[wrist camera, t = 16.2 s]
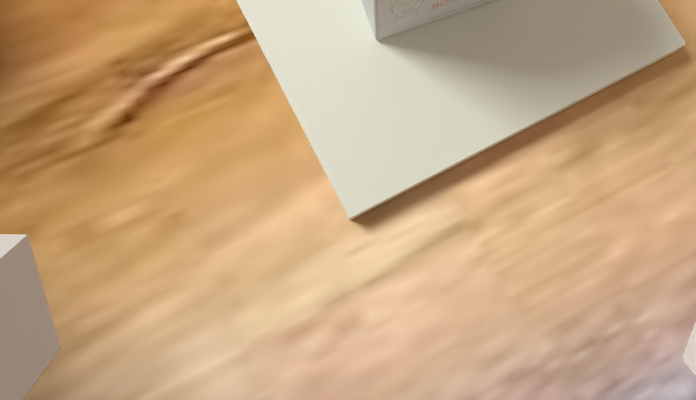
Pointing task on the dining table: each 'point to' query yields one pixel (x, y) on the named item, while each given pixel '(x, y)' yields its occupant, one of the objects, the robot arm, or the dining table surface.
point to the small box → (410, 13)
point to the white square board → (443, 79)
